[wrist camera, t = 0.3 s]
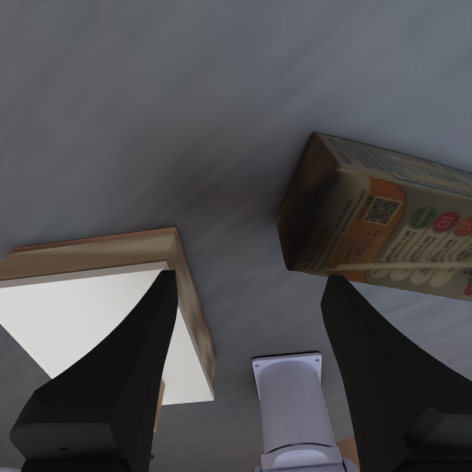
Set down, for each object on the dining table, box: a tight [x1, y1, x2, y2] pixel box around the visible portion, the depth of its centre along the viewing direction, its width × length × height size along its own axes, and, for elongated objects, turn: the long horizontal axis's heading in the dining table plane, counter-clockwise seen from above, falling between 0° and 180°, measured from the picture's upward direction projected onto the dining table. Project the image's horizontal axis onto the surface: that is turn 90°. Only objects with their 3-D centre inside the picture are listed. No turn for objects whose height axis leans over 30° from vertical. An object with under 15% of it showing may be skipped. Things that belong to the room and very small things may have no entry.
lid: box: [0, 261, 214, 432], centre depth 24 cm, size 18×14×5 cm
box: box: [0, 227, 216, 390], centre depth 28 cm, size 18×14×4 cm
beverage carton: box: [276, 132, 472, 301], centre depth 21 cm, size 8×19×7 cm, turn 76°
